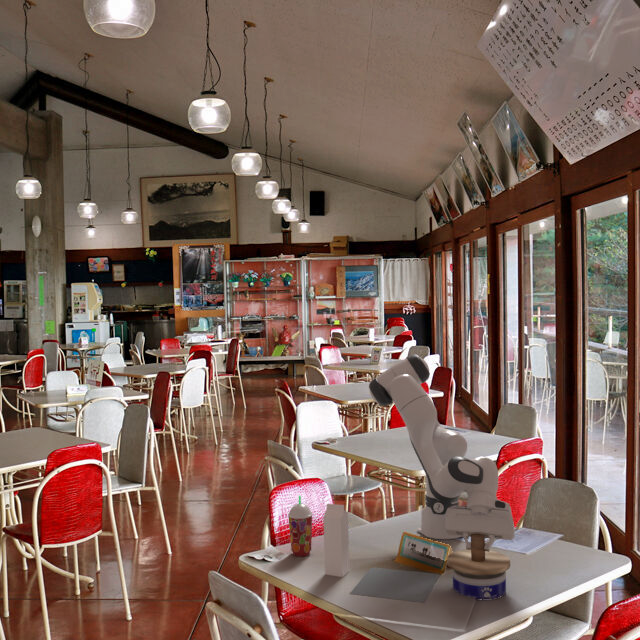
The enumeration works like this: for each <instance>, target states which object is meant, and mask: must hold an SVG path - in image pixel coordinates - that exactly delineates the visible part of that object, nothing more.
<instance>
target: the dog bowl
mask: <svg viewBox="0 0 640 640" xmlns="http://www.w3.org/2000/svg"><path fill="white" fill-rule="evenodd" d="M451 570H452V571H451V573H452V587H453V590H454V591H455V592H456V593H458V594H459V595H463V596H465V597H467V598H468V597H469V598H474V600H475V599H482V600H481V601H484V600H483V599H492V600H495V599H494V598H497V599H499V598H498V597H500V596H502V595H503V596H504V595H506V590H507V579H506V578H507V575H506V574H507V573H506V572H507V571H505V572H502V573H499V574H493V575H473V574H466V573H462V572H458V571H456V570H454V569H452V568H451ZM503 596H502V597H503ZM500 598H501V597H500Z"/></svg>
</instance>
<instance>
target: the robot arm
mask: <svg viewBox="0 0 640 640" xmlns="http://www.w3.org/2000/svg"><path fill="white" fill-rule="evenodd" d="M430 375H431V373H430V367H429V366H428V363H427V362H426V360H425V359H423V358H422V357H420V356H419V355H418V354H414V353H413V354H411V355H409V356H406V358H404V359H402V360H400V361H398V362H396V363H394V364H392V365H391V366H390V367H389V368H387V369H386V370H384V371H383V372H382V373H381V374H379V375H378V376H377V377H373V379H372V380H371V381H370V382H369V384H368V388H369V394H370V397H371V398H372V400H373V401H374V402H375V403H377V404H378V405H379V406H381V407H387V406H390V405H393V404H394V405H395V407H396V409H397V411H398V413H399V414H400V417H401V418H402V420H403V423H404V424H405V427H406V430H407V432H408V435H409V440H410V443H411V445H412V448H413V451H414V453H415V454H416V456H417V458H418V461H419V463H420V465H421V466H422V469H423V471H424V474H425V495H424V505H425V506H424V507H423V508H422V509H421V517H420V518H421V520H420V522H421V524H420V526H419V527H418V528H416V532H417V533H419V534H422V535H424V536H425V537H427V538H430V539H436V540H453V539H458V538H461V537H463V540H464V542H465V550H471V541H469V538H471V534H483V535H484V536H485V539H489V540H488V542H487V543H486V542H485V547H484V550H485V551H487V552H490V551H491V547H492V546H493V545H494V543H495V541H496V540H504V541H513V539H515V537H516V532H515V524H514V517H513V515H512V508H511V505H510V503H508V502H506V501H502V500H500V499H498V497H497V492H498V488H499V470H498V467H497V464H496V463H495V461H494V460H492V459H491V458H489V457H486V456H477V457H475V458H468V457H465V455H466V454H467V451H468V442H467V441H466V438H465V437H464V436H463V435H462V434H460V433H459V432H457V431H455V430H453V429H448V428H445V427H444V426H442V425H441V423H440V422H439V421H438V420H439V419H438V411H437V408H436V406H435V404H434V403H433V401H432V399H431V397H430V396H429V394H428V393H427V392H426V390H425V388H423V386H422V384H425V383H426V381H429V378H430ZM463 492H465V493H466V494H467V500H466V505H459V503H460V501H459V498H460V496H461V495H462V493H463Z"/></svg>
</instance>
